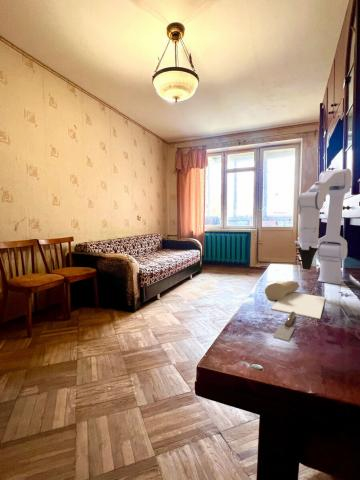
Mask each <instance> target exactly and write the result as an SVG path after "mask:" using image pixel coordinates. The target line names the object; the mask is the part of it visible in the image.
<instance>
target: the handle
mask: <svg viewBox="0 0 360 480" xmlns="http://www.w3.org/2000/svg"><path fill="white" fill-rule="evenodd" d="M299 288H300V285H299V282H298V281H294V280H288V281H284V283H282V284H281V283H276V282H274V283H270V284H268V285H267V286H266V287H265V289H264V294H265V296H266V298H267V299H269V300H273V301H276V300H278V299H280V298H282V297H284V296H285V294H289V293H292V292H296V291H297V290H298V289H299Z"/></svg>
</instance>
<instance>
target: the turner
mask: <svg viewBox="0 0 360 480" xmlns="http://www.w3.org/2000/svg"><path fill="white" fill-rule="evenodd" d="M296 316H297V315H296V313H295V312H291V313H289V315H288V317H287V319H286V321H285V323H284V324H280V325H279V327H278V328H277V329H276V331H275V332H274V334H273V338H274V339H278V340H282V341H287V342H289V341H290V340H291V337H292V335H293V333H294V331H295V327H293V326H292V325H291V324H292V323H293V322H294V319H295V317H296Z"/></svg>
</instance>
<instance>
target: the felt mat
mask: <svg viewBox="0 0 360 480" xmlns="http://www.w3.org/2000/svg"><path fill="white" fill-rule="evenodd" d="M325 301H326V296H325V297H324V296H319V295H313V294H306V293H300V292H296V291H294V292H292V293H289V294H285V296H284V297H282V298H280V299H277V301H276V302H274V304H273V305H272V306H271V308H270V310H273V311H276V312H277V311H278V312H283V313H288V314H291V312H295V313H296V315H295V316H297V315H298V316H302V317H307V318H311V319H316V320H321V316H322V313H323V309H324V305H325Z"/></svg>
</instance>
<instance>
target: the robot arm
mask: <svg viewBox="0 0 360 480" xmlns="http://www.w3.org/2000/svg"><path fill="white" fill-rule="evenodd" d="M352 178H353V177H352V171H351V169H349V168H345V169H337V170H335V169H334V170H326V171H325V170H324V171H321V172H320V174H319V176H318V181H315V182H314V183H313V184H312V185H311V187H310V188H309V189H307V191H306V192H302V193H301V194H299V195H298V198H297V203H296V204H297V208H298V215H299V228H298V230H299V232H298V240H294V244H297V245H300V246H301V247H298V248H297V251H298V253H299V256H300V258H301V259H300V261H301V264H302V266H301V267H302V269H303V270H307V271H308V270H309V271H310V270H311V268H312V265H313V261H314V257H315V254H316V256H317V257H318V259H319V260H320V265H319V268H320V269H319V276H318V279H317V282H319V283H321V282H322V283H328V284H334V285H342V278H341V272H342V262H343V261H345V259H346V258H347V256H348V242H347V240H346V239H344V238H343V237H342V235H340V234H341V226H342V217H343V208H344V199H345V195H346V194H347V193H349V192H350V191H351V190H350V189H351V188H352ZM327 196H329V203H328V212H327V219H326V220H327V222H326V229H325V230H326V231H325V235H324V236H322V237H320V238H319V232H320V231H319V228H320V215H321V213H320V212H321V210H322V209H323V207H324V202H325V198H326V197H327ZM314 246H316V247H314Z"/></svg>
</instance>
